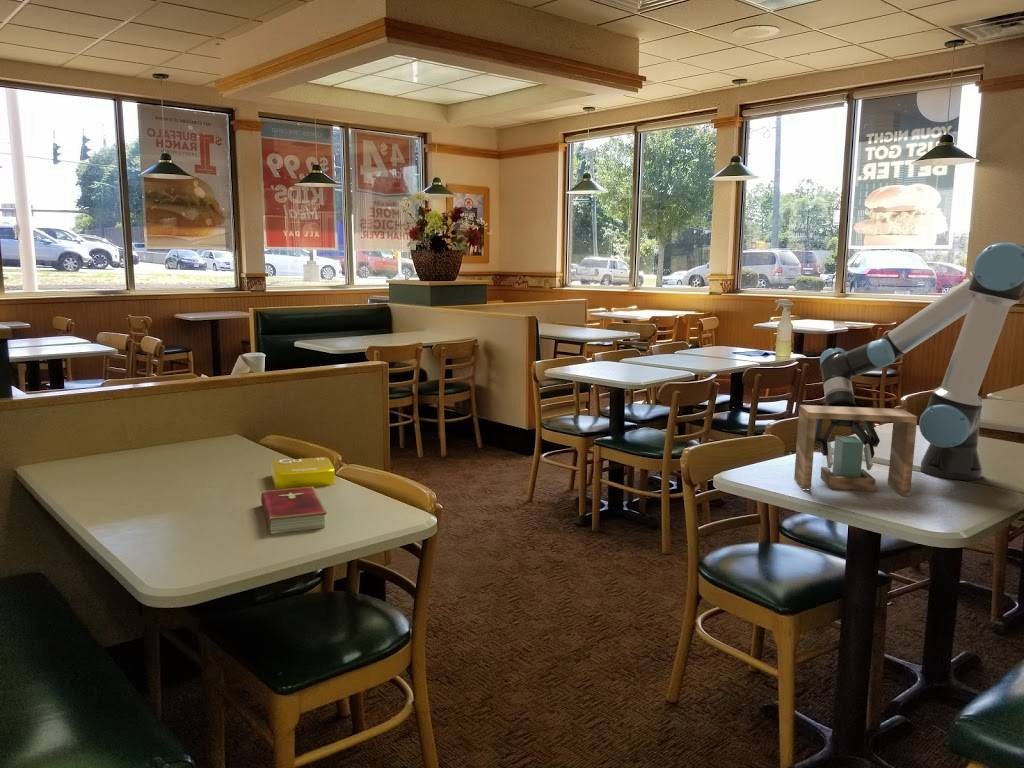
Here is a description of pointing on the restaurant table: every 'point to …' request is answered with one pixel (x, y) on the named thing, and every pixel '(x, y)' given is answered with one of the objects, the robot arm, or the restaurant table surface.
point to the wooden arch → (897, 469)
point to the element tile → (302, 473)
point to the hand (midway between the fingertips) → (850, 466)
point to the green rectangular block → (847, 456)
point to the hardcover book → (293, 510)
